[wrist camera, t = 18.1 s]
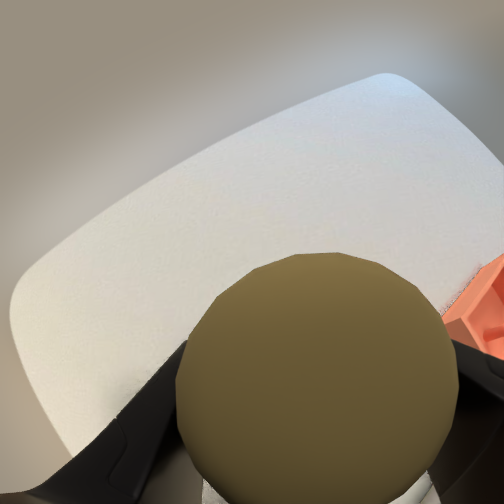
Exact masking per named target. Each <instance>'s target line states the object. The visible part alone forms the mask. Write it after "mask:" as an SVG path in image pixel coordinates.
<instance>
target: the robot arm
mask: <svg viewBox="0 0 504 504" xmlns="http://www.w3.org/2000/svg"><path fill="white" fill-rule="evenodd" d="M450 339H451V338H450ZM451 341H452V344H453V346H454V349H455V354H456V362H457V372H458V383H459V391H458V397H457V402H456V408H455V413H454V418H453V422H452V427H451V429H450V431H449V433H448V435H447V437H446V439H445V441H444V443H443V445H442V447H441V449H440V451H439V453H438V455H437V457H436V458H435V460H434V462H433V464H432V465H431V466H430V467H429V468H428V469H427V471H428V474H429V476H430V478H431V481H432V483H433V485H434V488H435V490H436V493H437V495H438V497H440V498H439V500H440V503H441V504H504V360H502V359H500V358H497V357H495V356H492V355H490V354H487V353H483V352H482V351H480V350H477V349H475V348H473V347H470V346H468V345H465V344H463V343H460V342H458V341H456V340H453V339H451ZM186 344H187V340H185V341H184V342H183V343H182V344H181V345H180V346H179V347H178V349H177V350H176V351H175V352H174V353H173V354H172V355H171V356H170V357H169V359H168V360H167V361H166V362H165V363H164V364H163V365H162V366H161V367H160V369H159V370H158V371H157V372H156V373H155V374H154V375H153V376H152V377H151V379H150V380H149V381H148V382H147V383H146V384H145V385H144V386H143V387H142V388H141V390H140V391H139V392H138V393H137V394H136V395H135V396H134V397H133V398H132V400H131V401H130V402H129V403H128V404H127V405H126V406H125V407H124V408H123V409H122V410H121V412H120V413H119V414H118V415H117V416H116V418H117V419H116V418H114V419H113V420H112V421H111V422H110V423H109V425H108V426H107V427H106V428H105V429H104V430H103V431H102V432H101V433H100V434H99V435H98V436H97V437H96V438H95V439H94V440H93V441H92V442H91V443H90V444H89V445H88V446H86V447H85V448H84V449H83V450H82V451H81V452H80V453H79V454H78V455H76V456H75V457H74V458H73V459H72V460H70V461H69V462H68V463H67V464H66V465H65V466H63V467H62V468H61V469H60V470H58V471H57V472H56V473H55V474H54V475H52V476H51V477H50V478H49V479H48V480H46V481H45V482H44V483H42V484H41V485H39V486H37V487H35V488H33V489H30V490H27V491H24V492H16V493H5V494H0V504H202V491H203V477H202V476H201V475H200V474H199V473H198V471H197V470H196V469H195V467H194V465H193V463H192V460H191V458H190V456H189V454H188V451H187V449H186V447H185V444H184V442H183V439H182V437H181V434H180V432H179V429H178V427H177V409H176V380H175V379H176V376H177V372H178V369H179V366H180V363H181V360H182V356H183V353H184V350H185V347H186Z"/></svg>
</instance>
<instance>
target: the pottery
mask: <svg viewBox="0 0 504 504" xmlns="http://www.w3.org/2000/svg"><path fill="white" fill-rule="evenodd" d="M441 318H442V320H443V322H444V325H445V327H446V329H447V332H448V334H449V336H450V338H451V339H453V340H456V341H458V342H460V343H463V344H465V345H468V346H470V347H473V348H475V349H477V350H480V351H482V352H483V353H487V354H490V355H492V356H495V357H497V358H500V359H502V360H504V253H503V254H502V255H501V256H499V257H498V258H496V259H495V260H493V261H492V262H490V263H489V264H487V265H486V266H484V267H483V268H481V269H480V271H479V272H478V273H477V275H476V276H475V277H474V279H473V280H472V281H471V282H470V284H469V285H468V286H467V288H466V289H465V290H464V291H463V292H462V294H461V295H460V296H459V297H458V299H457V300H456V301H455V302H454V303H453V304H452V306H451V307H450V308H449V309H448V310H447V311H446V313H445V314H444V315H443V316H442V317H441Z"/></svg>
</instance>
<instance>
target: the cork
mask: <svg viewBox="0 0 504 504" xmlns="http://www.w3.org/2000/svg"><path fill="white" fill-rule="evenodd" d="M175 380H176V409H177V427H178V429H179V432H180V434H181V437H182V439H183V442H184V444H185V447H186V449H187V451H188V454H189V456H190V458H191V460H192V463H193V465H194V467H195V469H196V470H197V471H198V473H199V474H200V475H201V476H202V477H203V478H204V479H205V480H206V481H207V482H208V483H209V484H210V485H211V486H212V487H213V489H214V490H215V491H216V492H217V493H218V494H219V495H220V496H221V497H222V498H223V499H224V500H225V501H226V502H228V503H230V504H388V503H390V502H392V501H393V500H395V499H397V498H398V497H400V496H401V495H403V494H404V493H405V492H406V491H407V490H408V489H409V488H410V487H411V486H412V485H413V484H414V483H415V482H416V481H417V480H418V479H419V478H420V477H421V476H422V475H423V474H424V473H425V472H426V470H427V469H428V468H429V467H430V466H431V465H432V464H433V462H434V460H435V458H436V457H437V455H438V453H439V451H440V449H441V447H442V445H443V443H444V441H445V439H446V437H447V435H448V433H449V431H450V429H451V427H452V422H453V418H454V413H455V408H456V402H457V397H458V391H459V383H458V372H457V362H456V354H455V349H454V346H453V344H452V341H451V339H450V336H449V334H448V332H447V329H446V327H445V325H444V322H443V320H442V318H441V316H440V314H439V313H438V312H437V311H436V309H435V308H434V307H433V306H432V305H431V303H430V302H429V301H428V300H427V299H426V297H425V296H424V295H423V294H422V293H421V292H420V290H419V289H418V288H417V287H416V286H415V285H413V284H411V283H410V282H408V281H407V280H405V279H404V278H402V277H400V276H399V275H397V274H396V273H394V272H392V271H391V270H389V269H388V268H386V267H384V266H383V265H381V264H379V263H376V262H372V261H369V260H365V259H361V258H357V257H353V256H349V255H346V254H342V253H316V254H295V255H293V256H290V257H287V258H284V259H281V260H279V261H276V262H273V263H270V264H267V265H265V266H262V267H259V268H256V269H254V270H252V271H251V272H250V273H248V274H247V275H246V276H244V277H243V278H242V279H240V280H239V281H238V282H236V283H235V284H234V285H232V286H231V287H229V288H228V289H227V290H225V291H224V292H223V293H221V294H220V295H219V296H217V297H216V299H215V300H214V302H213V303H212V304H211V306H210V307H209V309H208V310H207V311H206V313H205V314H204V316H203V317H202V318H201V320H200V321H199V323H198V324H197V325H196V327H195V328H194V329H193V331H192V332H191V334H190V335H189V337H188V340H187V344H186V347H185V350H184V353H183V356H182V360H181V363H180V366H179V369H178V372H177V376H176V379H175Z"/></svg>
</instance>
